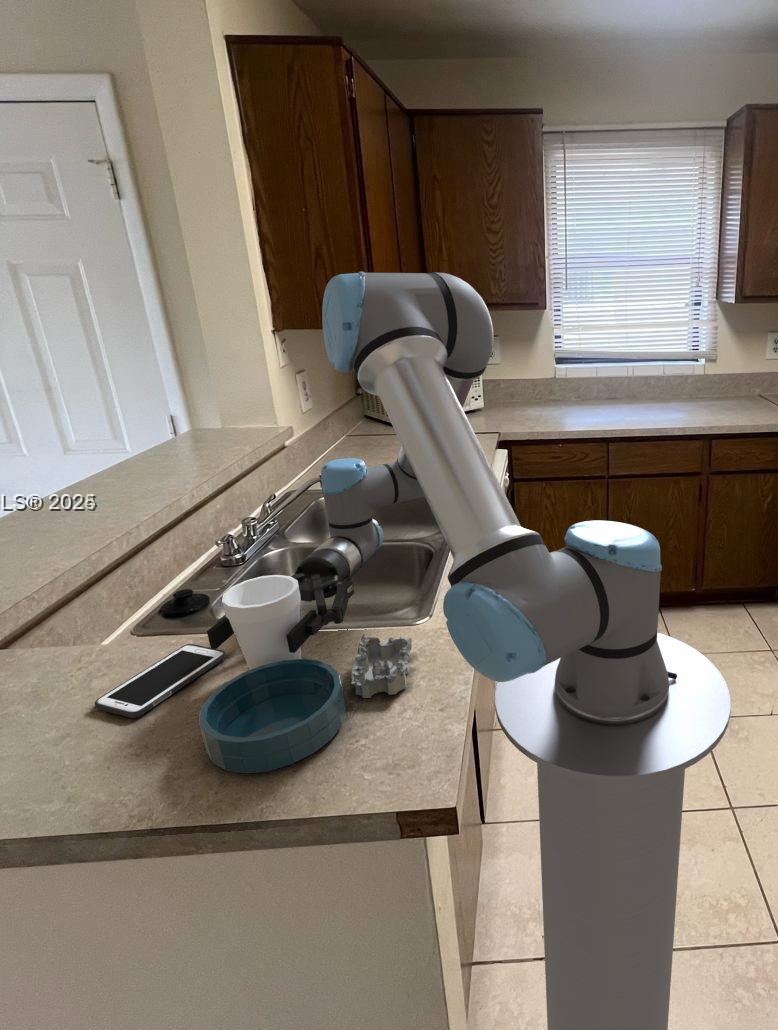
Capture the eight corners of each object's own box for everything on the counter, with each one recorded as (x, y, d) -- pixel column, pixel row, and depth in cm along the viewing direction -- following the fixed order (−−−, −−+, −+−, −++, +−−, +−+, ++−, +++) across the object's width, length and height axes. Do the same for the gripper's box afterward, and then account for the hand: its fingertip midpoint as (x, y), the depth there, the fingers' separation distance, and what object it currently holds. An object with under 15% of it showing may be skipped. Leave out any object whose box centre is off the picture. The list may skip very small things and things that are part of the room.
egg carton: (364, 655, 91) (361, 632, 90) (416, 652, 92) (413, 628, 91) (348, 701, 81) (344, 675, 80) (406, 696, 82) (402, 670, 81)
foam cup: (232, 695, 83) (211, 611, 78) (251, 656, 91) (233, 578, 87) (306, 685, 84) (290, 603, 80) (318, 648, 93) (304, 572, 88)
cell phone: (229, 656, 91) (228, 651, 91) (136, 720, 78) (134, 714, 77) (189, 648, 93) (188, 642, 93) (92, 708, 80) (90, 702, 80)
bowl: (368, 696, 82) (363, 665, 80) (299, 785, 68) (291, 749, 66) (264, 684, 85) (257, 654, 83) (176, 767, 70) (166, 732, 69)
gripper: (397, 590, 102) (337, 669, 82) (267, 586, 104) (176, 662, 84) (392, 550, 100) (329, 621, 79) (259, 546, 102) (163, 614, 81)
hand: (250, 642), depth 81 cm, fingers open, 10 cm apart
